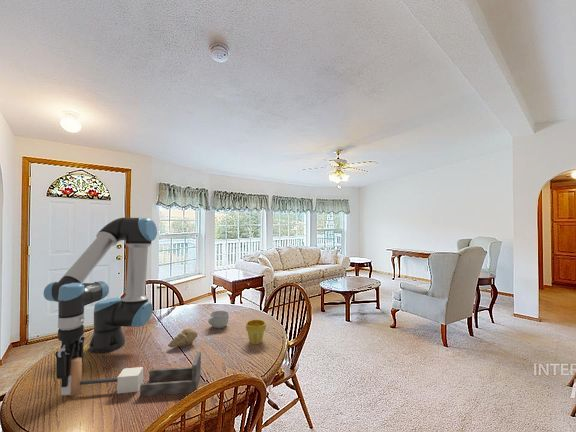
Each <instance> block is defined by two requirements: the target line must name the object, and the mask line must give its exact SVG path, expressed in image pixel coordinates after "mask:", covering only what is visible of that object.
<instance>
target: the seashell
mask: <svg viewBox="0 0 576 432" xmlns="http://www.w3.org/2000/svg"><path fill="white" fill-rule="evenodd" d="M198 335H199V334H198V333H197V332H196V331H195V330H194V329H192V328H185V329H183V330H182V331H181V332H180V333H179V334H177V336H175V337H174V338H173V339H172V340H171V341H170V342H169V344H168V345H167V346H168V347H169V348H174V347H186V346H189V345H191V344H193V342H194V341H195V340H196V339H197V337H198Z"/></svg>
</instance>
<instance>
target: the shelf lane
mask: <svg viewBox="0 0 576 432" xmlns="http://www.w3.org/2000/svg"><path fill="white" fill-rule="evenodd" d="M201 359H202V352H201V351H196V354H195V356H194V359H193V363H192V364H191V367H190V366H189V367H187V366H186V367H173V368H160V369H158V368H157V369H155V368H154V369H150V370H149V371H148V373H149V374H148V381H149V382H148V383H147V382H146V383H142V384H141V385H140V389H139V397H151V396H163V395H164V396H165V395H176V394H189V393H190V394H191V393H194V392H193V391H195V390H196V391H197V390H198V387H199V383H200V380H201V369H202V367H201V365H202V363H201V362H202V360H201ZM185 379H186V380H185ZM187 379H189V380H187ZM190 379H191V380H190ZM172 380H173V381H172ZM174 380H176V381H174ZM157 381H162V382H157Z"/></svg>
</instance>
